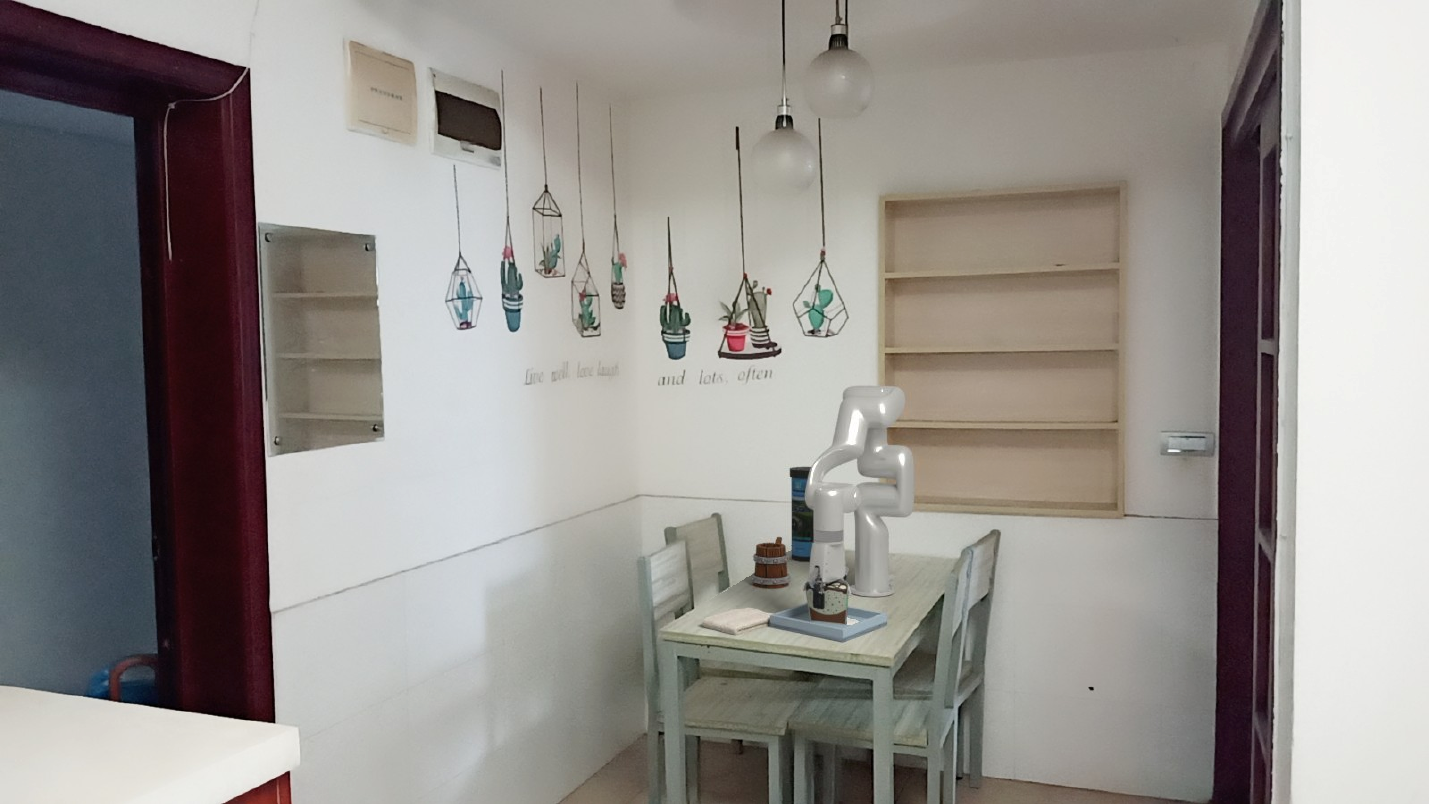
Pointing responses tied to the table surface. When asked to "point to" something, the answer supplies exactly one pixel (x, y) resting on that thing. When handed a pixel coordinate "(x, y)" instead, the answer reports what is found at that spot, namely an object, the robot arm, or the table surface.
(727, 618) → the washcloth
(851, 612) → the tray
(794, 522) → the advertising column
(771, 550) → the mug
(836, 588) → the food container
